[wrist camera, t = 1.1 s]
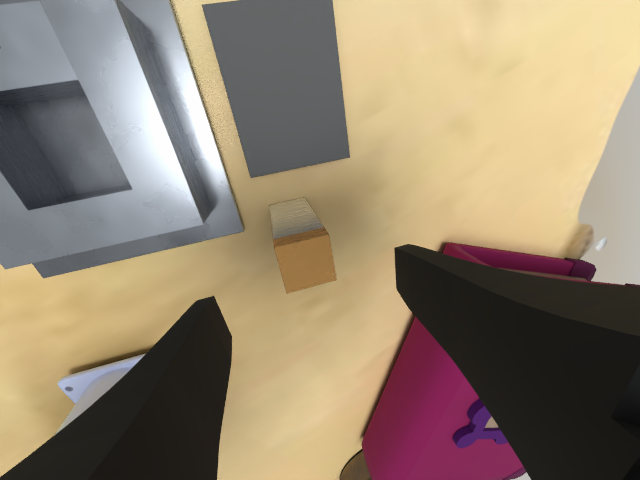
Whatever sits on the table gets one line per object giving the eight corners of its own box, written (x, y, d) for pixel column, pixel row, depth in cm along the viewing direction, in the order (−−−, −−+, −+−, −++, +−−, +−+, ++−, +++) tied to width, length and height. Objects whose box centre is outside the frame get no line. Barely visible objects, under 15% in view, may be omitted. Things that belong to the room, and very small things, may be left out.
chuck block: (244, 228, 18) (240, 249, 15) (50, 273, 17) (-1, 307, 13) (161, -27, 12) (126, -83, 9) (-151, 4, 11) (-326, -51, 8)
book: (356, 433, 33) (381, 513, 26) (436, 237, 23) (510, 281, 16) (480, 420, 38) (527, 482, 32) (585, 259, 29) (686, 299, 22)
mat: (348, 156, 18) (349, 157, 18) (251, 176, 17) (250, 177, 17) (329, -7, 14) (331, -11, 14) (203, 8, 13) (201, 4, 13)
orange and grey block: (310, 229, 20) (336, 280, 13) (277, 237, 19) (286, 293, 12) (304, 197, 18) (328, 234, 12) (269, 205, 18) (274, 247, 11)
